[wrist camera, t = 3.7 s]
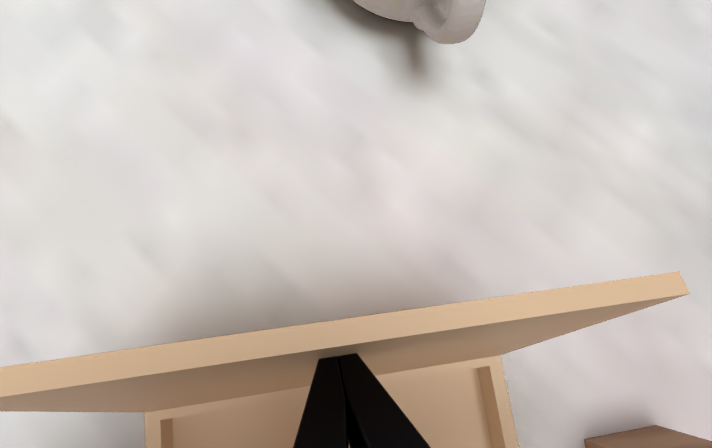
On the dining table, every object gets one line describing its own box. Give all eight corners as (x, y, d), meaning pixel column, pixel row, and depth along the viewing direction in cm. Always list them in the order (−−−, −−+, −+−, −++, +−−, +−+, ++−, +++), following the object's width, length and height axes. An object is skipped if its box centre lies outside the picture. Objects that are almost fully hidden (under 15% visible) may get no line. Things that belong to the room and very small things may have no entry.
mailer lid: (689, 293, 9) (677, 268, 9) (-89, 410, 7) (-81, 374, 7) (497, 355, 19) (494, 342, 19) (147, 412, 17) (148, 396, 17)
